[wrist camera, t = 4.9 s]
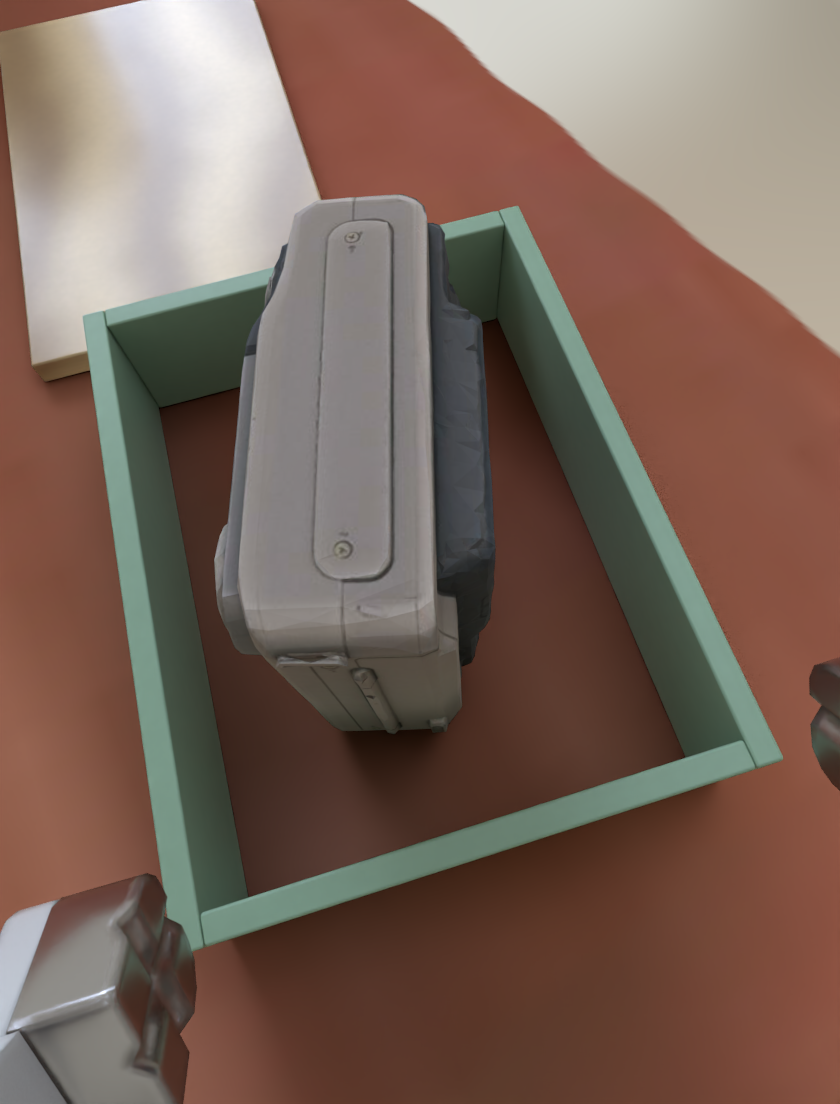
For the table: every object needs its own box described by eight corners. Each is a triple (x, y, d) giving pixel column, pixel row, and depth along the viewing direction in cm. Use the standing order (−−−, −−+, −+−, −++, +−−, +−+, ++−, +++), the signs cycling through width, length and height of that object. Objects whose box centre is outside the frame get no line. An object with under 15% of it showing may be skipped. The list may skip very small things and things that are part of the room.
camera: (318, 417, 26) (247, 179, 17) (478, 417, 26) (494, 174, 17) (290, 742, 22) (175, 655, 13) (483, 744, 22) (508, 658, 12)
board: (44, 383, 27) (30, 366, 27) (8, 53, 35) (-4, 31, 34) (353, 303, 28) (350, 284, 27) (252, -2, 36) (247, -24, 35)
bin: (229, 938, 20) (171, 958, 16) (137, 398, 27) (81, 314, 23) (719, 779, 21) (786, 759, 17) (508, 301, 28) (518, 204, 24)
